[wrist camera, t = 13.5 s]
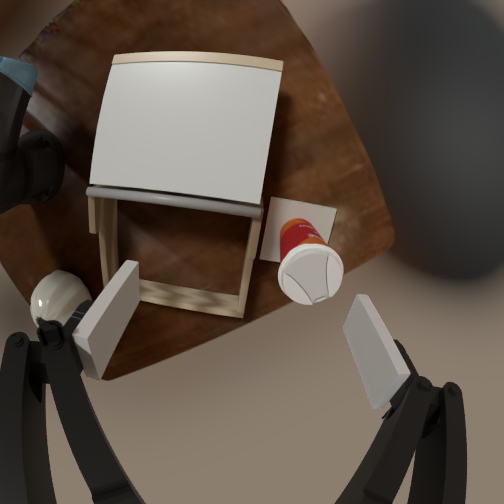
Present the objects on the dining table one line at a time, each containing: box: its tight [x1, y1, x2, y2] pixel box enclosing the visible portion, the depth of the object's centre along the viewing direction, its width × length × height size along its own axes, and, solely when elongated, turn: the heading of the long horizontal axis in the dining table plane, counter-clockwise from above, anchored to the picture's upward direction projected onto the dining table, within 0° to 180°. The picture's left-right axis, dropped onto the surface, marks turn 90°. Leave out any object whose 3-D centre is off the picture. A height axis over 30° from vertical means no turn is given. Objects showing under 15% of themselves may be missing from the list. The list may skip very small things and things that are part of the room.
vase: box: [30, 270, 92, 328], centre depth 47 cm, size 14×14×13 cm
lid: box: [86, 52, 283, 219], centre depth 34 cm, size 26×22×5 cm
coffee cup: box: [278, 218, 343, 305], centre depth 39 cm, size 8×8×15 cm
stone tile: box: [260, 196, 337, 262], centre depth 47 cm, size 11×11×1 cm
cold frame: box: [88, 184, 264, 318], centre depth 44 cm, size 26×20×8 cm
